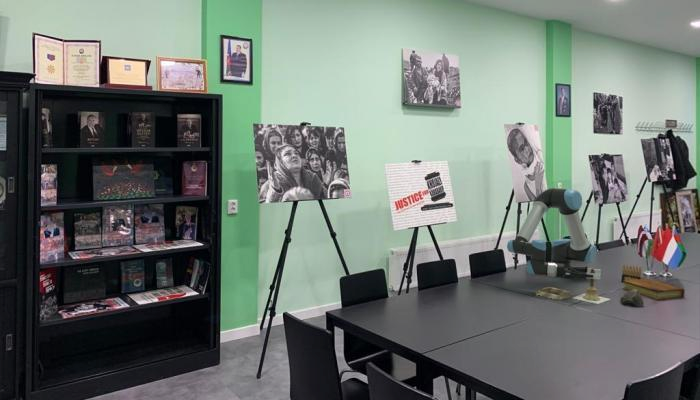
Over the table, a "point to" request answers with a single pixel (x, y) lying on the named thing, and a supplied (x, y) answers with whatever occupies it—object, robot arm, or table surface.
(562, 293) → the bell cradle
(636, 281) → the diary
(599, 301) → the mat
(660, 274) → the table surface
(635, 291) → the fossil
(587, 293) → the hand bell
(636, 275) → the ammunition clip
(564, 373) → the table surface
